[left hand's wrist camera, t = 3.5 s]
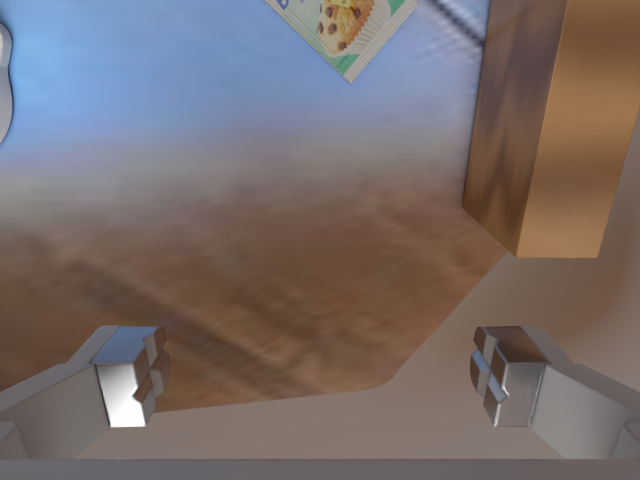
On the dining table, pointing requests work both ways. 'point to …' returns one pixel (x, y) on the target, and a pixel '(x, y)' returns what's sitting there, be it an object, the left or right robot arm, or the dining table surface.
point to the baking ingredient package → (345, 28)
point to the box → (553, 123)
